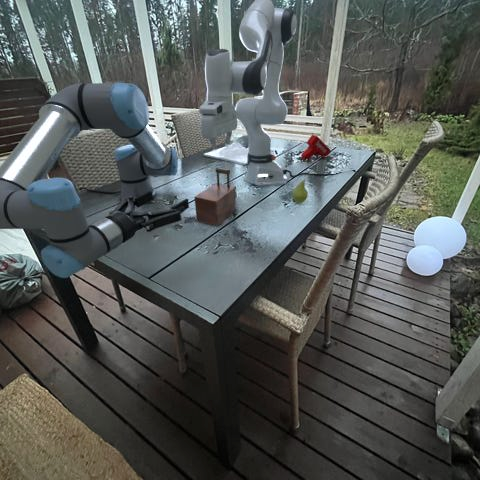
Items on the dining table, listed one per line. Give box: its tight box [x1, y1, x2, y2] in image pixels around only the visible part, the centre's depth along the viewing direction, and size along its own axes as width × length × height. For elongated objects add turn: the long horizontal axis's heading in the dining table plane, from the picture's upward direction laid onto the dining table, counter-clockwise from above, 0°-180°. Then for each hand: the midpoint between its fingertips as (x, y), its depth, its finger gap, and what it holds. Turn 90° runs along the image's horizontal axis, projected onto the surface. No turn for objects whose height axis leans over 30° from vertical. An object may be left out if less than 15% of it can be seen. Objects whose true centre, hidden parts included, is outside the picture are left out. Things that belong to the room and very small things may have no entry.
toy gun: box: [300, 134, 332, 162], centre depth 175 cm, size 18×4×15 cm
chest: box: [194, 189, 237, 226], centre depth 109 cm, size 15×10×9 cm, turn 153°
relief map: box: [203, 141, 249, 166], centre depth 184 cm, size 27×35×5 cm
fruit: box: [291, 175, 311, 204], centre depth 118 cm, size 7×8×12 cm
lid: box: [194, 167, 237, 204], centre depth 104 cm, size 16×10×8 cm, turn 153°
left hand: (169, 198), depth 82 cm, fingers open, 13 cm apart
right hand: (221, 146), depth 102 cm, fingers open, 8 cm apart
